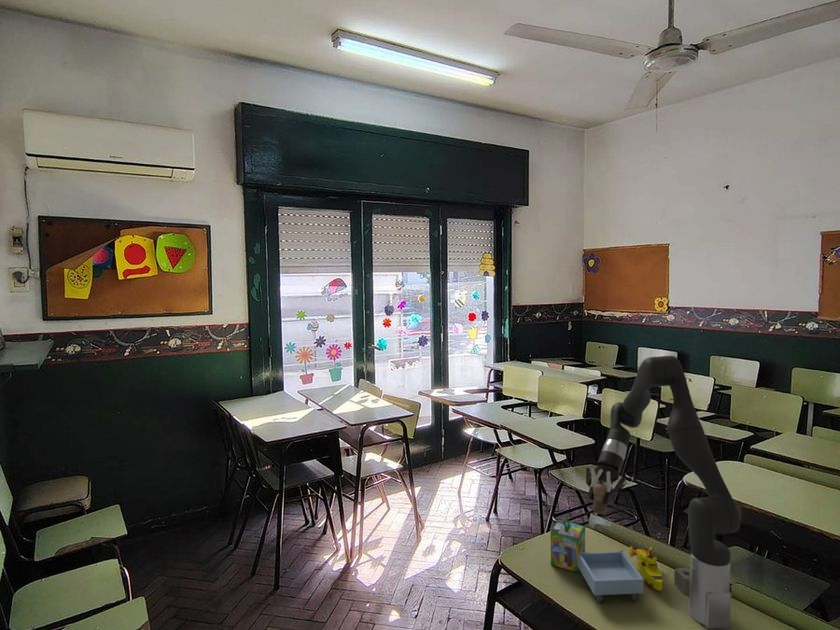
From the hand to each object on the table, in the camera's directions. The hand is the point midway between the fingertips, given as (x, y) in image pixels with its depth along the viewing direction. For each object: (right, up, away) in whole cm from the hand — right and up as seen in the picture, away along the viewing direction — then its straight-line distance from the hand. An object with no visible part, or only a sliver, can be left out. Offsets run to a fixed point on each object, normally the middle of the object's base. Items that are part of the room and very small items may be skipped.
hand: (597, 501), depth 164 cm
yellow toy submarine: (+11, -19, -13) cm, 25 cm away
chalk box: (-11, -19, -3) cm, 22 cm away
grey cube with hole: (+20, -20, -18) cm, 33 cm away
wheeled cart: (-3, -20, -17) cm, 26 cm away
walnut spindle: (+1, -4, +2) cm, 5 cm away
